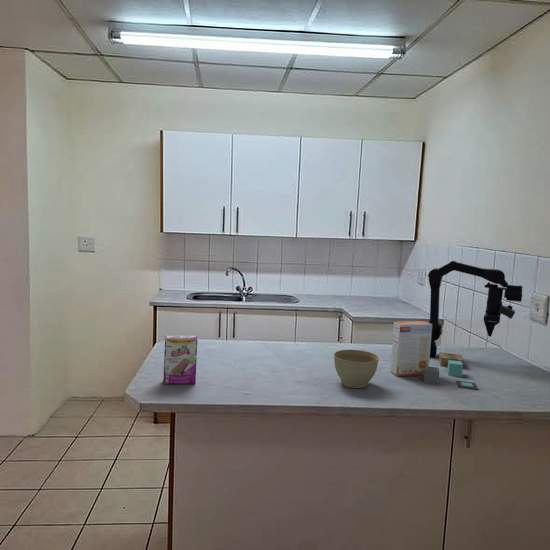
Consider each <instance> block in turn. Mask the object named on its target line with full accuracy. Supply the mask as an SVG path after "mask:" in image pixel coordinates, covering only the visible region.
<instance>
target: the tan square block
mask: <svg viewBox="0 0 550 550" xmlns="http://www.w3.org/2000/svg"><path fill="white" fill-rule="evenodd" d="M448 360H453V361H461V362H462V364H463V365H464V361H465V360H464V358H463V356H462V354H458V353H451V352H450V353H449V352H443V351H442V352H441V351H440V352H439V357H438V362H439V366H440V367H445V368H448Z"/></svg>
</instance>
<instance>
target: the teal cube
mask: <svg viewBox="0 0 550 550" xmlns="http://www.w3.org/2000/svg"><path fill="white" fill-rule="evenodd" d="M446 369H447V371H446V372H447V374H448V376H450V377H460V378H462V377H463V369H464V363H463V364H462V362H461V361H453V360H448V367H447V368H446Z"/></svg>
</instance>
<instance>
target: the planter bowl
mask: <svg viewBox="0 0 550 550" xmlns="http://www.w3.org/2000/svg"><path fill="white" fill-rule="evenodd" d="M333 357H334V358H333V359H334V363H333V364H334V367H335V372H336V373H337V376H338V378H339V379H340V381H341V382H340V383H341V385H343V386H345V387H347V388H350V389H351V388H353V389H363V388H366V387H368V385H369V382H370V381H371V380H372V379H373V377H374V376H375V374H376V372H377V370H378V369H377V368H378V363H379V359H380V357H379V355H377V353H374V352H370V351H367V350H361V349H341V350H337V351H335V352H334V353H333Z"/></svg>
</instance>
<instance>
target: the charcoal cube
mask: <svg viewBox="0 0 550 550" xmlns="http://www.w3.org/2000/svg"><path fill="white" fill-rule="evenodd" d="M439 380H440V369H439V367H436V366H435V367H434V366H429V367H428V366H425V369H424V375H423V381H424V383H426V384H433V385H439Z"/></svg>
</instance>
